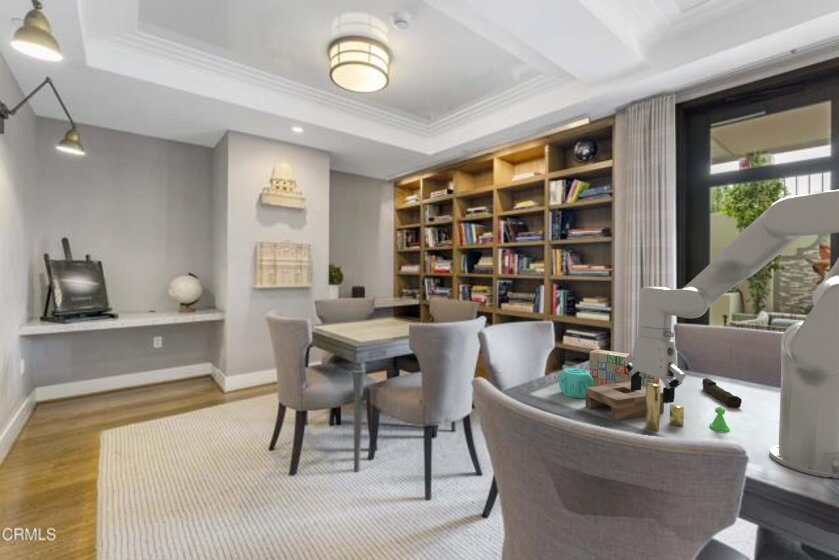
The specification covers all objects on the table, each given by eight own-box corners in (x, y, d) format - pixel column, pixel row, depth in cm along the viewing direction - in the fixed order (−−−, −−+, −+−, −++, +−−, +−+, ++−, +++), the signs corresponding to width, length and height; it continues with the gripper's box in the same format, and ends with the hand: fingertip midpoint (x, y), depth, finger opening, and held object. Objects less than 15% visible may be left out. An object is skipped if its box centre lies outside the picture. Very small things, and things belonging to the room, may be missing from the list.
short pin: (686, 425, 106) (686, 407, 106) (677, 427, 105) (678, 409, 105) (675, 421, 109) (675, 403, 109) (666, 422, 108) (667, 405, 108)
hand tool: (742, 409, 118) (742, 394, 118) (726, 408, 119) (727, 393, 119) (712, 390, 136) (712, 377, 136) (699, 389, 137) (699, 376, 137)
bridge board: (663, 412, 115) (664, 393, 114) (616, 421, 109) (617, 400, 109) (629, 399, 126) (630, 381, 126) (585, 406, 120) (585, 387, 120)
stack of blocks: (659, 394, 132) (660, 358, 131) (653, 398, 127) (654, 361, 127) (595, 380, 147) (596, 348, 147) (588, 384, 143) (589, 351, 142)
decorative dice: (558, 392, 134) (558, 369, 133) (576, 389, 136) (576, 367, 136) (574, 399, 126) (575, 375, 126) (593, 396, 129) (594, 373, 129)
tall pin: (662, 430, 103) (663, 385, 102) (653, 432, 102) (654, 387, 101) (651, 425, 106) (652, 382, 105) (642, 427, 105) (643, 383, 104)
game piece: (708, 428, 104) (708, 406, 103) (710, 424, 107) (711, 402, 107) (728, 433, 101) (729, 411, 100) (730, 428, 104) (731, 406, 103)
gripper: (696, 338, 96) (693, 406, 97) (636, 327, 112) (634, 384, 113) (674, 340, 93) (671, 409, 94) (616, 328, 110) (614, 387, 111)
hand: (651, 396), depth 104 cm, fingers open, 9 cm apart
